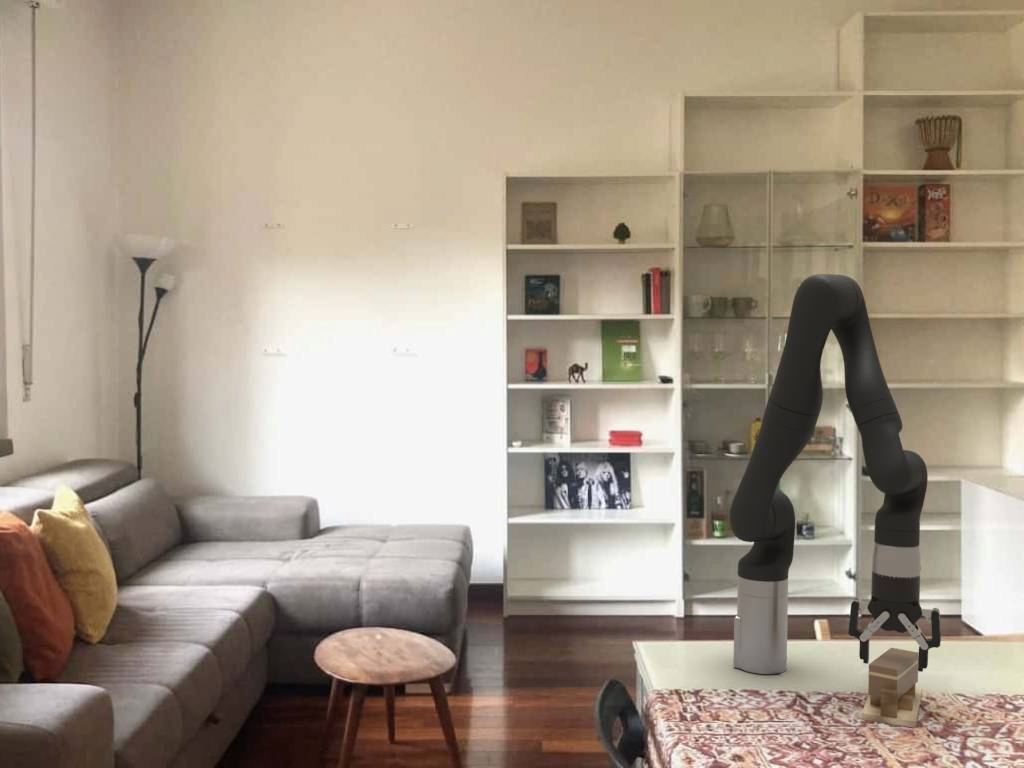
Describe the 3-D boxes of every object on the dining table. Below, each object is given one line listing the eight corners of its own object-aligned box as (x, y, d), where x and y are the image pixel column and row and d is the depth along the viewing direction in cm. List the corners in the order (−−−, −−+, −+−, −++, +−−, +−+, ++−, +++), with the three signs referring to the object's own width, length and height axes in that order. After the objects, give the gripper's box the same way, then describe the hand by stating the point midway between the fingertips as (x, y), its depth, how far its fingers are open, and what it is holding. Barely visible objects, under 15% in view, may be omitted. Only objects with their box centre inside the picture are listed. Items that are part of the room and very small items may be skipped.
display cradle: (861, 719, 156) (862, 688, 156) (872, 685, 173) (873, 657, 172) (915, 727, 153) (916, 696, 153) (921, 692, 169) (922, 664, 169)
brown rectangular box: (867, 694, 159) (868, 664, 159) (890, 675, 169) (891, 647, 169) (896, 700, 156) (897, 670, 156) (918, 681, 166) (918, 652, 166)
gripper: (848, 570, 162) (845, 666, 162) (941, 579, 156) (938, 679, 156) (853, 561, 169) (851, 654, 169) (943, 570, 163) (940, 666, 163)
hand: (893, 666), depth 163 cm, fingers open, 8 cm apart
